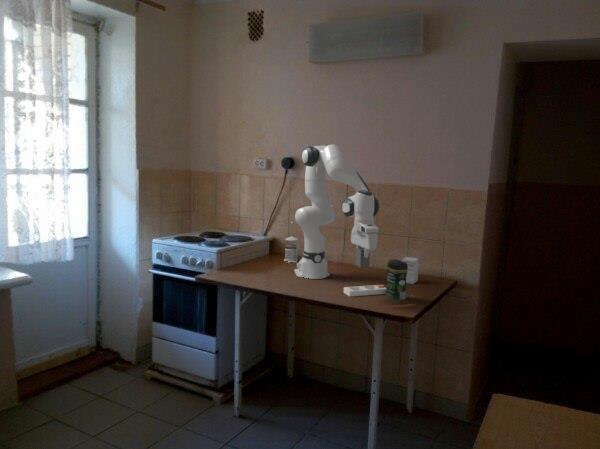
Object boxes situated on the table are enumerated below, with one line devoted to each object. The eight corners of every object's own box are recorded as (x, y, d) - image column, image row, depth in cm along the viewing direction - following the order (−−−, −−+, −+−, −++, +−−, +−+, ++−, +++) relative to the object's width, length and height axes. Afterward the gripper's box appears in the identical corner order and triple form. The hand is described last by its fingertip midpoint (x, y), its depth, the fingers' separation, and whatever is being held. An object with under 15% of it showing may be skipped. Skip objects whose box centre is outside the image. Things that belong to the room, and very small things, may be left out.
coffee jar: (382, 296, 233) (384, 258, 230) (396, 295, 236) (398, 257, 234) (394, 302, 224) (396, 263, 222) (408, 300, 228) (410, 261, 225)
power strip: (343, 294, 235) (343, 285, 234) (380, 291, 241) (380, 283, 241) (349, 298, 228) (349, 289, 228) (387, 295, 235) (387, 287, 234)
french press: (292, 258, 312) (293, 219, 309) (304, 261, 304) (305, 222, 300) (280, 260, 306) (281, 220, 303) (291, 263, 297) (292, 223, 294)
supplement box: (404, 279, 268) (406, 256, 266) (417, 281, 264) (419, 258, 262) (400, 281, 262) (401, 258, 260) (413, 284, 258) (415, 260, 256)
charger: (356, 265, 225) (356, 247, 224) (364, 264, 227) (365, 247, 226) (360, 267, 221) (360, 249, 220) (369, 266, 222) (369, 249, 221)
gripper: (348, 223, 230) (347, 252, 232) (367, 229, 211) (366, 260, 213) (360, 223, 232) (359, 251, 234) (380, 229, 213) (379, 260, 215)
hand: (362, 256), depth 223 cm, fingers closed on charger, 4 cm apart
